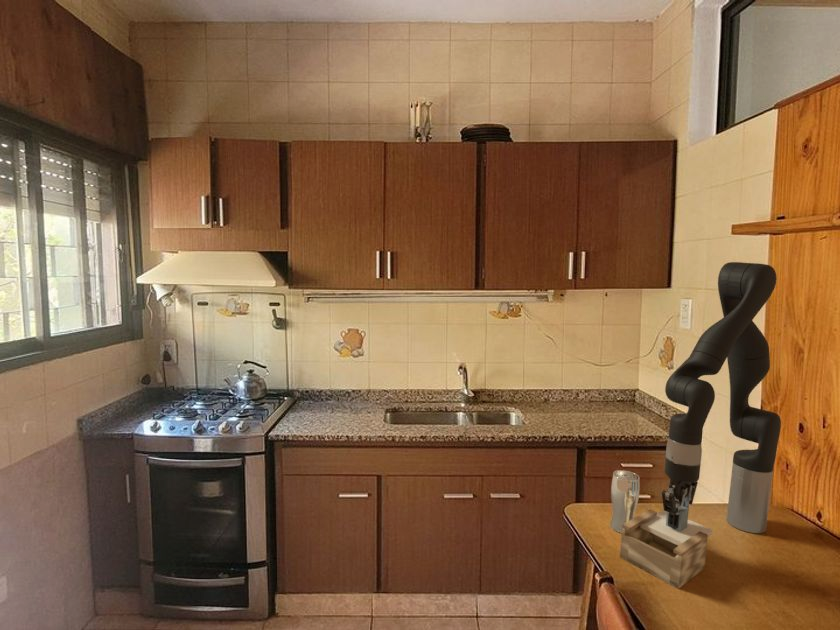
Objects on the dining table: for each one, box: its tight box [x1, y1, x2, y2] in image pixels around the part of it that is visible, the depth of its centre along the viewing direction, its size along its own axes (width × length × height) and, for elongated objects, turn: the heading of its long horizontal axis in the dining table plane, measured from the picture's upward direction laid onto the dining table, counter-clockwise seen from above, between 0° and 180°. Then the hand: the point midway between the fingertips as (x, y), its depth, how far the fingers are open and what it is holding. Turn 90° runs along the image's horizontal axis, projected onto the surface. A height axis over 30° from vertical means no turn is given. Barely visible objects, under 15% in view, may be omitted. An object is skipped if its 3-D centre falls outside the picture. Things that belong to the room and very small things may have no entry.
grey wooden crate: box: [619, 509, 709, 589], centre depth 116 cm, size 13×14×8 cm
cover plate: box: [640, 505, 714, 546], centre depth 119 cm, size 12×12×6 cm
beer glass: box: [609, 469, 641, 534], centre depth 131 cm, size 7×7×15 cm
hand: (676, 524), depth 119 cm, fingers closed on cover plate, 3 cm apart
